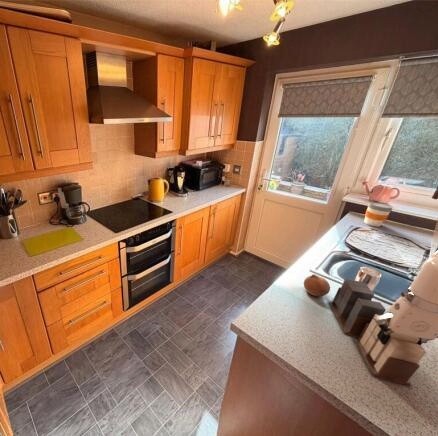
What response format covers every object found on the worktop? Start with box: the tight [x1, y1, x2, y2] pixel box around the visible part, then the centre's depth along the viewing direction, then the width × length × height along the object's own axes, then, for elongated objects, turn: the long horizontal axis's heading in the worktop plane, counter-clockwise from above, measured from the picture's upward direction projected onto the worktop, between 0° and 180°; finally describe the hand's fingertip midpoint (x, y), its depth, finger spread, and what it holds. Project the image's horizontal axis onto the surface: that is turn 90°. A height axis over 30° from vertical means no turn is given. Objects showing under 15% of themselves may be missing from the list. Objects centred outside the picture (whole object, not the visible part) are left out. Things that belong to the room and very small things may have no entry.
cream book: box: [370, 327, 420, 362], centre depth 71 cm, size 6×2×13 cm, turn 72°
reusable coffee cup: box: [363, 201, 393, 227], centre depth 166 cm, size 13×13×15 cm
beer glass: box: [354, 266, 383, 292], centre depth 98 cm, size 7×7×15 cm
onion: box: [303, 273, 331, 298], centre depth 102 cm, size 10×9×10 cm
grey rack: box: [328, 278, 387, 338], centre depth 88 cm, size 9×16×14 cm, turn 162°
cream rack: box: [353, 314, 427, 386], centre depth 73 cm, size 9×13×14 cm
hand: (395, 343), depth 70 cm, fingers closed on cream book, 6 cm apart
